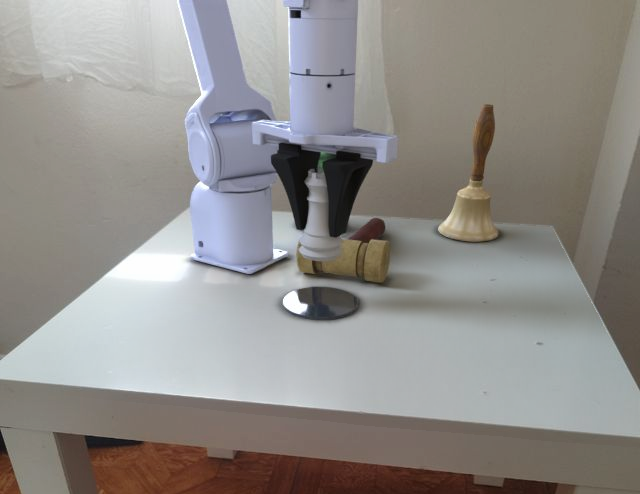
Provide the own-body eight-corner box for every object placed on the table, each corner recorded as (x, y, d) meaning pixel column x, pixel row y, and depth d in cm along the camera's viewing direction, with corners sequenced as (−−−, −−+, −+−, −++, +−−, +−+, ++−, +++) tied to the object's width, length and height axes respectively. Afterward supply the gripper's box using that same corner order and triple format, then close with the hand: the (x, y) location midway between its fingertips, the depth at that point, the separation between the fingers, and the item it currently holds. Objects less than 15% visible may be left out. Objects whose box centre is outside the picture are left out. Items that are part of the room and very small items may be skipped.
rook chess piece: (299, 246, 64) (299, 165, 59) (342, 247, 64) (345, 166, 59) (297, 261, 60) (296, 176, 56) (342, 262, 60) (345, 177, 56)
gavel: (348, 202, 86) (419, 209, 83) (346, 235, 88) (415, 243, 86) (295, 236, 69) (382, 246, 66) (295, 276, 71) (379, 288, 68)
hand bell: (509, 232, 86) (532, 104, 77) (479, 246, 81) (501, 111, 72) (457, 220, 90) (474, 98, 81) (426, 233, 85) (440, 104, 76)
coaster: (267, 307, 64) (267, 305, 64) (309, 283, 70) (309, 281, 70) (332, 326, 61) (332, 323, 61) (371, 299, 66) (371, 297, 66)
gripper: (227, 71, 53) (237, 228, 61) (374, 83, 47) (364, 256, 55) (275, 65, 58) (279, 211, 66) (414, 75, 52) (400, 235, 60)
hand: (320, 230), depth 61 cm, fingers closed on rook chess piece, 3 cm apart
